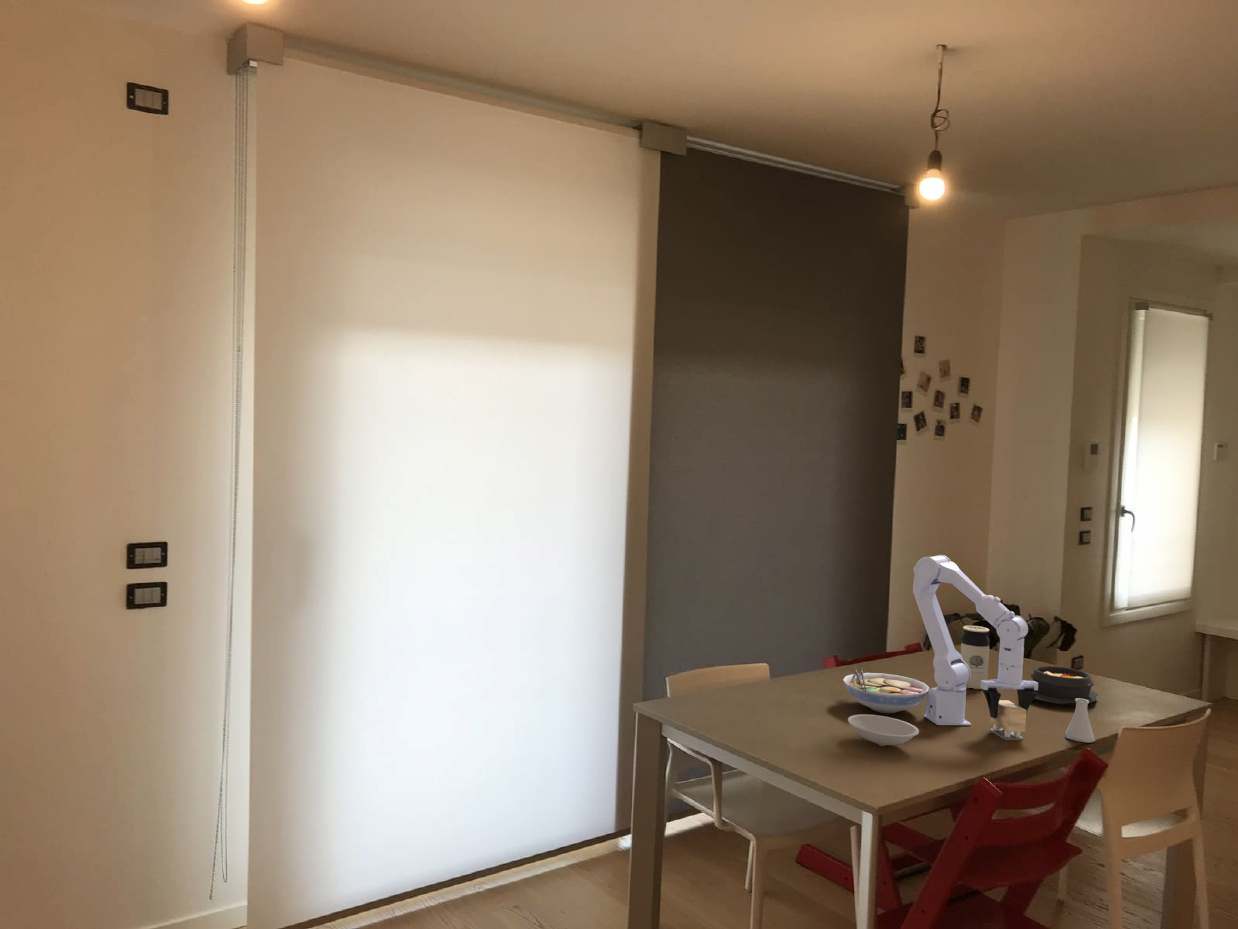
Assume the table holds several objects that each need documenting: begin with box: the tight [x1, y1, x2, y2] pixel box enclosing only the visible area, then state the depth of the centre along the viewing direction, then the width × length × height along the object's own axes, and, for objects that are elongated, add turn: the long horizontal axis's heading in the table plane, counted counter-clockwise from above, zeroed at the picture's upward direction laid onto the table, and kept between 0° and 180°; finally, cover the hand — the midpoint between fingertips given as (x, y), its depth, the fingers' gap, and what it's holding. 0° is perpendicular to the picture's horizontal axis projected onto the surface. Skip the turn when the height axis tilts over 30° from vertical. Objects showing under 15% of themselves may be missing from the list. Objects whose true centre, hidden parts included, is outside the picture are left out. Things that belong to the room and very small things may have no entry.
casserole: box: [1030, 665, 1099, 706], centre depth 278 cm, size 25×19×8 cm
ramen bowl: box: [842, 666, 930, 714], centre depth 259 cm, size 25×23×8 cm
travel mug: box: [960, 625, 991, 690], centre depth 289 cm, size 8×8×18 cm
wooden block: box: [990, 699, 1027, 733], centre depth 241 cm, size 8×4×6 cm, turn 7°
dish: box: [847, 714, 920, 747], centre depth 229 cm, size 18×14×5 cm
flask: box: [1064, 698, 1096, 744], centre depth 241 cm, size 7×7×10 cm
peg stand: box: [989, 723, 1025, 741], centre depth 241 cm, size 5×7×2 cm
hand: (1007, 717), depth 241 cm, fingers open, 7 cm apart
